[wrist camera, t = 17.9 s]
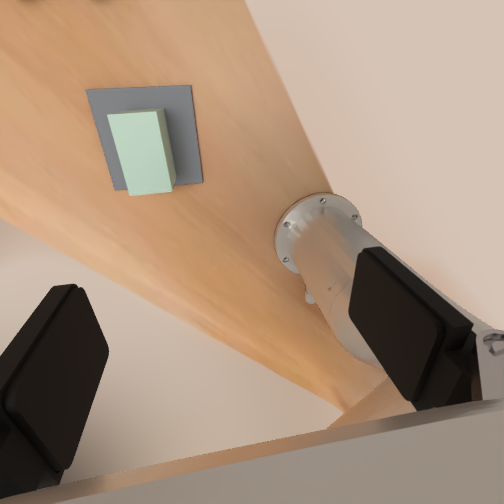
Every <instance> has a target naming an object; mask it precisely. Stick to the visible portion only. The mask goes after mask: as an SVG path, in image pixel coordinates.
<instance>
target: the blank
mask: <svg viewBox="0 0 504 504" xmlns="http://www.w3.org/2000/svg"><path fill="white" fill-rule="evenodd" d="M107 117H108V120H109V124H110V128H111V131H112V135H113V138H114V142H115V145H116V149H117V152H118V156H119V159H120V163H121V167H122V170H123V174H124V177H125V181H126V184H127V188H128V191H129V195H130V196H134V195H144V194H154V193H163V192H172V191H173V187H174V183H175V179H176V171H175V166H174V160H173V155H172V150H171V144H170V139H169V134H168V129H167V123H166V118H165V113H164V108H157V109H142V110H127V111H120V112H116V113H112V114H108V115H107Z"/></svg>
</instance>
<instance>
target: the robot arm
mask: <svg viewBox="0 0 504 504" xmlns="http://www.w3.org/2000/svg"><path fill="white" fill-rule="evenodd" d="M321 199H322V200H321ZM286 221H287V222H286ZM285 222H286V223H285ZM274 246H275V251H276V253H277V256H278V258H279V260H280V261H281V263H282V264H283V265H284V266H285V267H286V268H287V269H288V270H290V271H291V272H293V273H296V274H299V275H301V277H302V278H303V280H304V284H305V285H306V289H305V299H304V300H305V302H307V303H310V304H314V303H317V305H318V307H319V309H320V310H321V312H322V314H323V316H324V318H325V319H326V321H327V323H328V325H329V326H330V328H331V330H332V331H333V333H334V335H335V337H336V338H337V340H338V341H339V343H340V344H341V346H342V347H343V348H344V349H345V350H346V351H347V352H348V353H349V354H351V355H352V356H353V357H355V358H356V359H358V360H360V361H362V362H364V363H366V364H369V365H372V366H374V367H378V368H381V369H384V370H385V371H386V373H387V374H388V377H387V378H386V379H385V380H384V381H383V382H382V383H381V384H380V385H378V386H377V387H376V388H375V389H374V391H372V392H371V393H370V394H369V395H367V396H366V397H365V398H364V399H362V400H361V401H360V402H358V403H357V404H356V405H355V406H353V407H352V408H351V409H350V410H348V411H347V412H346V413H345V414H343V415H342V416H341V417H340V418H338V419H337V420H336V421H335V422H334V423H333V424H331V425H330V426H329V427H328V428H327V429H326V430H321V431H316V432H311V433H306V434H301V435H296V436H291V437H286V438H281V439H276V440H272V441H267V442H262V443H257V444H252V445H247V446H242V447H237V448H232V449H228V450H223V451H218V452H213V453H208V454H203V455H198V456H194V457H189V458H184V459H179V460H175V461H170V462H165V463H161V464H156V465H151V466H146V467H141V468H136V469H132V470H127V471H122V472H117V473H113V474H108V475H103V476H98V477H94V478H89V479H85V480H80V481H76V482H71V483H67V484H63V485H59V484H60V481H61V478H62V475H63V472H64V470H66V469H68V468H69V467H70V466H71V464H72V461H73V459H74V456H75V453H76V450H77V447H78V444H79V441H80V438H81V436H82V432H83V430H84V427H85V423H86V421H87V418H88V415H89V412H90V409H91V406H92V403H93V400H94V397H95V394H96V391H97V388H98V385H99V383H100V380H101V377H102V374H103V371H104V368H105V365H106V362H107V359H108V355H109V348H108V344H107V342H106V340H105V337H104V335H103V333H102V330H101V328H100V325H99V323H98V321H97V318H96V316H95V314H94V311H93V309H92V307H91V304H90V302H89V299H88V297H87V295H86V293H85V290H84V289H83V288H81V287H80V288H78V286H77V285H76V284H67V285H59V286H53V287H52V288H51V289H50V291H49V292H48V293H47V295H46V296H45V297H44V299H43V300H42V301H41V303H40V304H39V305H38V307H37V308H36V309H35V311H34V312H33V313H32V315H31V316H30V317H29V319H28V320H27V321H26V323H25V324H24V325H23V327H22V328H21V329H20V331H19V332H18V333H17V335H16V336H15V337H14V339H13V340H12V342H11V343H10V344H9V345H8V347H7V348H6V349H5V351H4V352H3V353H2V355H1V356H0V504H504V331H502V330H496V329H494V328H492V327H491V326H489V325H487V324H486V323H484V322H483V321H481V320H480V319H478V318H477V317H475V316H474V315H472V314H471V313H469V312H467V311H466V310H465V309H463V308H462V307H460V306H459V305H457V304H456V303H455V302H454V301H452V300H451V299H450V298H448V297H447V296H446V295H444V294H443V293H442V292H441V291H439V290H438V289H437V288H435V287H434V286H433V285H431V284H430V283H429V282H428V281H427V280H425V279H424V278H423V277H422V276H420V275H419V274H418V273H417V272H415V271H414V270H413V269H412V268H411V267H409V266H408V265H407V264H406V263H405V262H403V261H402V260H401V259H400V258H398V257H397V256H396V255H395V254H394V253H392V252H391V251H390V250H389V249H387V248H386V247H385V246H384V245H383V244H381V243H380V242H379V241H378V240H377V239H375V238H374V237H373V236H372V235H370V234H369V233H368V232H367V231H366V230H364V229H363V228H362V221H361V217H360V215H359V212H358V210H357V209H356V207H355V206H354V205H353V204H352V203H351V202H349V201H348V200H347V199H345V198H344V197H342V196H339V195H336V194H331V193H318V194H314V195H310V196H307V197H305V198H303V199H301V200H299V201H298V202H296V203H295V204H293V205H292V206H291V207H290V208H289V209H288V210H287V211H286V212H285V213H284V215H283V216H282V217H281V219H280V221H279V223H278V225H277V228H276V231H275V236H274ZM57 485H58V486H57ZM52 486H54V487H52ZM47 487H49V488H47ZM42 488H45V489H42ZM37 489H41V490H37Z"/></svg>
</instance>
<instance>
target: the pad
mask: <svg viewBox="0 0 504 504" xmlns="http://www.w3.org/2000/svg"><path fill="white" fill-rule="evenodd" d="M86 93H87V96H88V100H89V103H90V107H91V110H92V114H93V117H94V120H95V124H96V127H97V131H98V134H99V138H100V141H101V145H102V148H103V151H104V155H105V158H106V162H107V165H108V169H109V172H110V175H111V179H112V182H113V186H114V189H115V190H127V189H128V188H127V184H126V181H125V177H124V174H123V170H122V167H121V163H120V159H119V156H118V152H117V149H116V145H115V142H114V138H113V135H112V131H111V128H110V124H109V120H108V117H107V115H108V114H112V113H116V112H120V111H127V110H142V109H157V108H164V113H165V118H166V123H167V129H168V134H169V139H170V144H171V150H172V155H173V160H174V166H175V171H176V179H175V183H174V185H185V184H197V183H203V179H202V171H201V164H200V156H199V148H198V140H197V133H196V125H195V117H194V109H193V102H192V94H191V86H190V85H182V86H159V87H135V88H112V89H88V90H86Z"/></svg>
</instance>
